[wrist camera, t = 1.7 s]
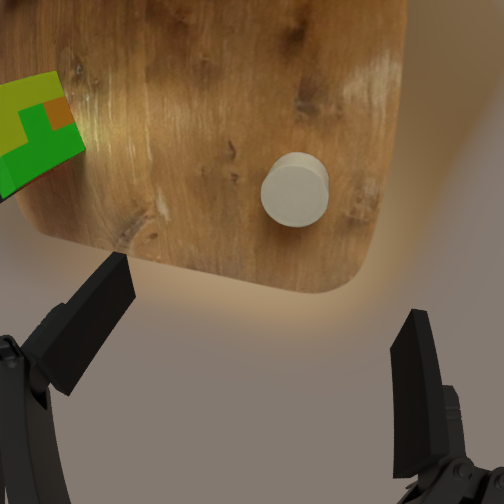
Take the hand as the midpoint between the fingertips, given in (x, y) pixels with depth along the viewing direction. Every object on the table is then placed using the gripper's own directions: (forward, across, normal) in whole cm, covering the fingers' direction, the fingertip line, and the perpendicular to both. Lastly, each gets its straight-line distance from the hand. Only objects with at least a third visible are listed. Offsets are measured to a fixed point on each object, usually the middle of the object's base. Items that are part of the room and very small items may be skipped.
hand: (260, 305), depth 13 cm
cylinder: (+15, 0, 0) cm, 15 cm away
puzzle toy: (+15, -28, +4) cm, 32 cm away
